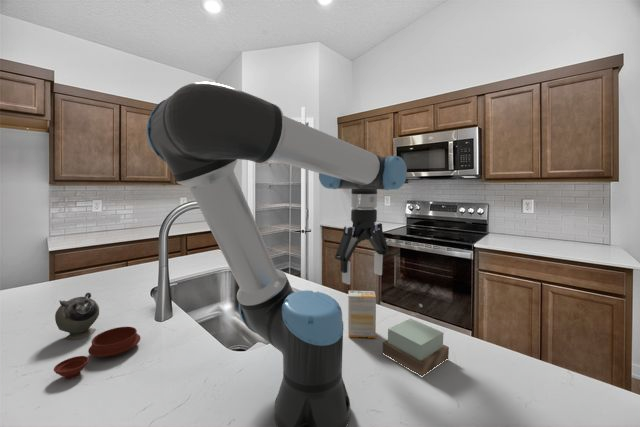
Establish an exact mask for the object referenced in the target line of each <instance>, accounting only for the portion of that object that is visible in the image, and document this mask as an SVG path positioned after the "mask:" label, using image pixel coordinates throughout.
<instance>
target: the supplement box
mask: <svg viewBox="0 0 640 427" xmlns="http://www.w3.org/2000/svg"><path fill="white" fill-rule="evenodd" d="M347 303H348V304H347V305H348V306H347V310H348V313H347V315H348V316H347V321H348V322H347V324H348V326H347V328H348V329H347V330H348V338H358V337H364V338H365V337H368V338H367V339H376V334H377V333H376V331H377V329H376V327H377V324H376V323H377V317H376V316H377V295H376V292H375V291H373V290H348V298H347ZM365 339H366V338H365Z"/></svg>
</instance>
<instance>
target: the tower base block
mask: <svg viewBox="0 0 640 427" xmlns="http://www.w3.org/2000/svg"><path fill="white" fill-rule="evenodd" d="M449 350H450V349H449V346H447V345H446V344H443V347H442V348H441V349H439V350H437V351H436V352H434V353H433V354H431V355H429V356H428V357H426V358H424V359H423V360H421V361H420V360H418V359H416V358H414V357H412V356H410V355H409V354H407V353H405V352H403V351H402V350H400V349H398V348H396V347H394V346H393V345H391V344H389V343H388V339H387V340H384V341H383V342H382V354H383V353H384V354H385V355H387V356H389V357H391V358H392V359H394V360H395V361H397V362H398V363H400V364H402V365H403V366H405V367H407V368H409V369H410V370H412V371H414V372H416V373H418V374H419V375H421V376H423V375H424V374H426V373H427V372H429V371H430V370H432V369H433V368H434V367H436V366H437V365H439V364H440V363H442V362H443V361H445V360H446V359H448V360H449V353H450V352H449ZM398 363H397V364H398ZM403 366H402V367H403Z"/></svg>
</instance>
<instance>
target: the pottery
mask: <svg viewBox="0 0 640 427" xmlns="http://www.w3.org/2000/svg"><path fill="white" fill-rule="evenodd" d="M137 331H138V330H137V328H135V327H133V326H120V327H112V328H110V329H108V330H104V331H102V332H99V333H98V334H97V335H96V336H94V337H93V338H92V339H91V345H90V347H89V348H88V350H87V352H88V354H89V355H90V356H93V357H98V358H99V357H102V358H103V357H115V356H119V355H122V354H123V353H125V352H127V351H128V350H130V349H132V348H133V347H135V346H136V345H137V344H139V342H140V341H141V335H140V334H138V332H137ZM89 361H90V358H89V357H88V356H86V355H79V356H74V357H70V358H67V359H65V360H64V359H63V360H62V361H60V362H59V363H58V364H56V365H55V366H54V367H53V372H54V373H56V374H57V375H59V376H61V377H64V379H65V380H73V379H74V378H77V377H78V376H80V375H81V373H82V371H83V370H84V368H85V367H86V366H87V364H88V362H89Z"/></svg>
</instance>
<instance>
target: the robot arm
mask: <svg viewBox="0 0 640 427" xmlns="http://www.w3.org/2000/svg"><path fill="white" fill-rule="evenodd" d="M145 127H146V131H145V132H146V138H147V142H148V144H149V146H150V148H151V150H152V151H153V152H154V153H155V155H156V156H157V157H159V159H160V160H162V161H164V162H165V163H166V165H167V166H168V169H169V170H170V173H171V174H172V176H173V178H174V180H175V181H176V184H179V185H181V186H184V187H186V188H188V189H189V190H190V192H191V194H192V196H193V198H194V199H195V202H196V204H197V206H198V208H199V209H200V211H201V213H202V214H201V215H202V216H203V217H204V220H205V221H206V224H207V226H208V227H209V229H210V231H211V233H212V235H213V238H214V239H215V242H216V243H217V245H218V248H219V250H220V252H221V253H222V255H223V257H224V259H225V261H226V264H227V265H228V267H229V269H230V271H231V273H232V276H233V277H234V279H235V281H236V283H237V285H238V287H239V288H238V290H237V293H236V299H237V302H238V314H239V316H240V319H241V321H242V322H243V323H244V325H245V327H247V328H248V330H250V331H251V332H253V333H254V334H256V335H258V336H260V337H261V338H262V339H264V340H265V341H266V342H267V343H268V344H270V345H272V347H274V348H275V349H276V350H278V351H279V352H281V354H282V364H283V365H282V368H283V371H282V375H283V376H282V380H281V384H280V385H279V386H280V387H279V390H278V393H277V395H276V398H275V402H274V422H275V425H276V424H277V425H276V427H277V426H278V427H346V426H347V424H348V425H349V423H350V420H349V419H351V403H350V402H351V401H350V397H349V395H348V391H347V388H346V385H345V381H344V379H343V350H344V349H343V346H344V345H343V344H344V321H343V310H342V307H341V305H340V304H339V302H338V301H337V300H336V299H335V298H333V297H332V296H330V295H329V294H326V293H324V292H321V291H313V290H299V291H294V289H293V287H292V286H291V283H290V281H289V279H288V276H287V274H286V272H284V271H283V270H281V269H280V270H279V269H277V268H276V267H275V264H274V262H273V259H272V257H271V255H270V252H269V249H268V247H267V245H266V243H265V240H264V238H263V236H262V234H261V231H260V229H259V227H258V225H257V222H256V220H255V218H254V215H253V213H252V210H251V208H250V205H249V204H248V201H247V199H246V197H245V194H244V192H243V190H242V188H241V185H240V183H239V181H238V179H237V176H236V174H235V168H236V167H237V166H236V165H237V163H238V160H241V161H242V160H244V161H249V162H254V163H259V164H264V163H265V164H266V163H268V162H269V161H270V160H271V161H275V162H277V163H281V164H285V165H289V166H293V167H296V168H299V169H304V170H306V171H310V172H314V173H318V180H319V182H320V183H319V184H321V186H322V187H323V188H326V189H329V190H330V189H331V190H339V189H340V190H342V189H343V190H345V189H346V190H351V196H350V197H351V198H350V199H351V200H350V201H351V204H350V207H351V208H352V209H351V210H350V219H351V220H350V221H351V222H352V225H351V226H349V225H345V226H343V233H342V237H341V240H340V241H339V244H338V247H337V250H336V253H335V256H334V259H335V260H338V261H340V272H341V282H342V283H343V284H345V285H351V261H349V260H350V258H351V257H352V255H353V254H354V251H355V250H356V248H357V246H358V244H359V243H361V242H362V241H365V240H367V241H369V243H370V244H371V246H372V247H373V249H374V251H375V252H374V254H373V255H374V256H373V259H374V260H373V262H374V263H373V264H374V265H373V274H375V275H378V276H382V275H383V263H384V255H387V252H389V246H388V243H387V240H386V237H385V235H384V231H383V224H382V223H380V222H377V221H378V210H377V209H376V208H377V207H378V190H385V191H389V190H398V189H400V188H402V187H403V185H405V182H406V180H407V173H408V172H407V171H408V169H407V168H408V167H407V165H406V162H405V160H404V158H402V157H401V156H397V155H396V156H394V155H387V156H381V155H379V154H377V153H373V152H371V151H368V150H366V149H364V148H362V147H359V146H357V145H355V144H352V143H350V142H348V141H345V140H343V139H341V138H338V137H337V136H333V135H331V134H328V133H327V132H324V131H322V130H319V129H316V128H314V127H311V126H309V125H307V124H305V123H302V122H299V121H298V120H295V119H293V118H291V117H288V116H286V115H284V113H283V111H282V109H281V107H280V106H278V105H277V104H274V103H272V102H269V101H267V100H265V99H263V98H261V97H258V96H255V95H253V94H250V93H249V92H246V91H242V90H239V89H237V88H235V87H231V86H228V85H224V84H220V83H216V82H209V81H201V82H191V83H188V84H185V85H184V86H182V87H180V88H178V89H177V90H176V91H175V92H173V93H172V94H171V95H170V96H168V97H167V98H166V99H164V100H162V101H161V102H159V103H158V104H156V106H155V107H154V108H153V110H152V111H151V112H150V114H149V117H148V120H147V123H146V126H145ZM348 422H349V423H348ZM347 427H348V426H347Z"/></svg>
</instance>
